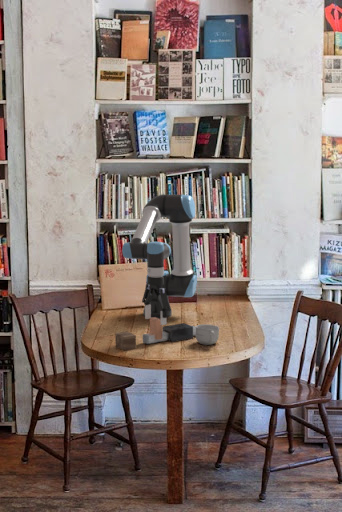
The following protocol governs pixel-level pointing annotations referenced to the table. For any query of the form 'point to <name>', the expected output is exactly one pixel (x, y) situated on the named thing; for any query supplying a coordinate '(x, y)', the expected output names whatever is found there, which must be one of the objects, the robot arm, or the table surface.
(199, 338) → the teacup
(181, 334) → the sleeve
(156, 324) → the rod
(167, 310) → the robot arm
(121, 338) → the socket
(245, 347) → the table surface
